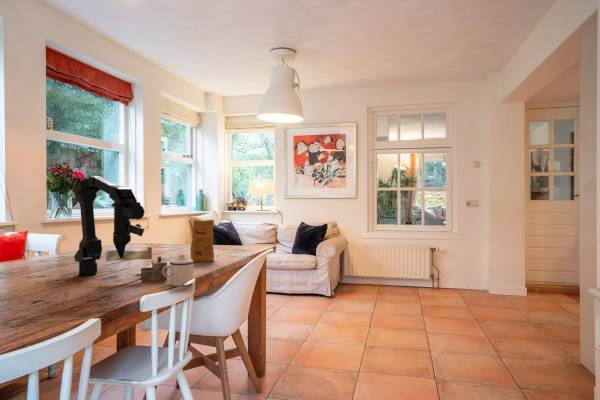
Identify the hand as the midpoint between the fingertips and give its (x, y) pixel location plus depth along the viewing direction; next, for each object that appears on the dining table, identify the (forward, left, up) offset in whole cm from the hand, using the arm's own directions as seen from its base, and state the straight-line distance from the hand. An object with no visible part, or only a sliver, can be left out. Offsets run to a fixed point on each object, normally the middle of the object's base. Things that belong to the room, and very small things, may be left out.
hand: (121, 257), depth 157 cm
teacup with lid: (+20, -14, -10) cm, 26 cm away
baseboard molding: (+15, +22, -10) cm, 29 cm away
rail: (+3, 0, -1) cm, 3 cm away
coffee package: (+40, +38, -10) cm, 56 cm away
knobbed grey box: (+12, 0, -10) cm, 15 cm away
